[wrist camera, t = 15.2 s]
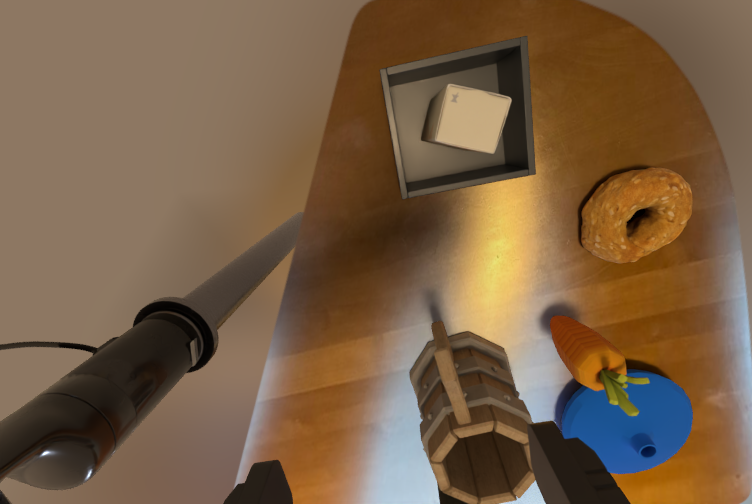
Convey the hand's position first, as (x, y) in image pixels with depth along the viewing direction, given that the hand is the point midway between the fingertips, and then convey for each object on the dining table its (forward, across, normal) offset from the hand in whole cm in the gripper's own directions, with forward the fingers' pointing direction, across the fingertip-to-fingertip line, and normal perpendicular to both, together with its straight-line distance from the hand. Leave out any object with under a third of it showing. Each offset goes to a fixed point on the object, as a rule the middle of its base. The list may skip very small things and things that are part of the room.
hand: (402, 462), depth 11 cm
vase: (+32, -25, +30) cm, 50 cm away
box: (+31, -8, -10) cm, 34 cm away
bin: (+32, -8, -10) cm, 34 cm away
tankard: (+32, -5, +18) cm, 37 cm away
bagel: (+32, -26, +3) cm, 41 cm away
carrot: (+32, -18, +15) cm, 39 cm away
